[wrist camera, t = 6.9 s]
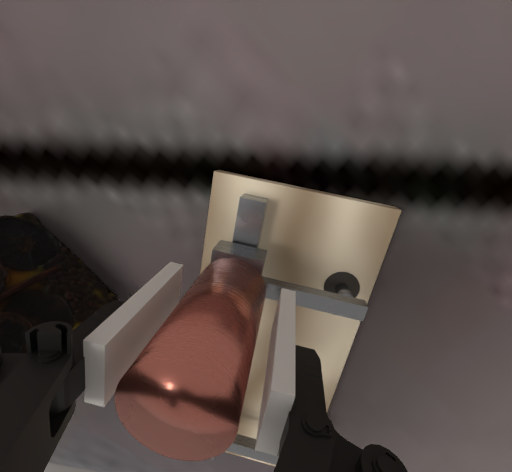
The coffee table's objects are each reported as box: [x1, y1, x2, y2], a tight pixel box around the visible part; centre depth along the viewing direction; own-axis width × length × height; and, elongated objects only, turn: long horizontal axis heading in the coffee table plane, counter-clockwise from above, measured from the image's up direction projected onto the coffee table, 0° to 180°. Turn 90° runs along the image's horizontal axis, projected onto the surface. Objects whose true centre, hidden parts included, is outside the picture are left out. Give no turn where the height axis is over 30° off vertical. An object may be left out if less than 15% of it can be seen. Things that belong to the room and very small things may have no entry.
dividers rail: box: [210, 193, 279, 465], centre depth 20 cm, size 9×23×3 cm, turn 169°
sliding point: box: [115, 240, 368, 461], centre depth 14 cm, size 10×4×11 cm, turn 79°
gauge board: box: [200, 170, 402, 467], centre depth 22 cm, size 12×25×1 cm, turn 169°
